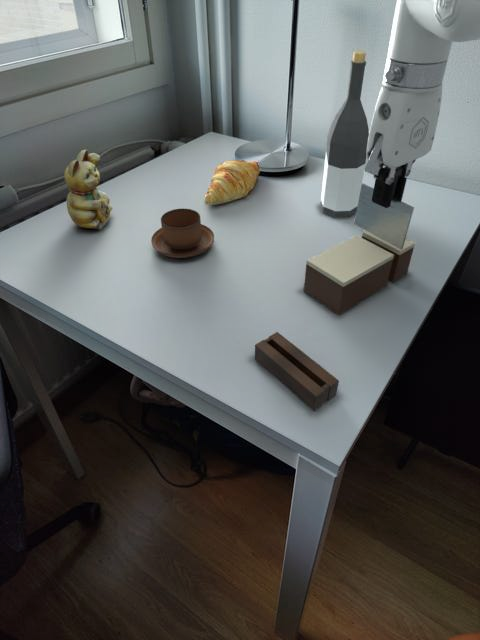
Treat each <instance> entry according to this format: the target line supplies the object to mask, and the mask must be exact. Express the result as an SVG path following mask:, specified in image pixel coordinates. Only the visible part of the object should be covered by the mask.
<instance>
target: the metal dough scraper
mask: <svg viewBox="0 0 480 640" xmlns="http://www.w3.org/2000/svg"><path fill="white" fill-rule="evenodd" d="M383 168H385V169H386V170H387V171H388V167H386V166H383ZM402 170H403V168H401V167H397V168H396V170H395V175H394V179H393V183H395V187H394V191H393V196H392V200H391V205H390V207H388V208H385V207H383V206H380V205H378V204H376V203H374V202H372V195H373V190H374V187H371V186H370V185H368V184H366V183H363V182H362V185H361V191H360V196H359V201H358V206H357V211H356V213H355V217H354V222H353V225H355V226H357V227H358V228H360V229H362V230H364V231H368V232H370V233H371V234H373V235H375V236H377V237H379V238H381V239H382V240H384V241H386V242H388V243H390V244H392V245H393V246H395V247H397V248H399V249H401V250H402V248H403V245H404V241H405V238H406V239H407V235H408V232H409V227H410V225H411V224H410V223H411V220H412V218H413V213H414V210H415V207H414V206H412V205H410V204H408V203H406V202H404V201H403V200H402V201H400V200H397V199H395V198H393V197H394V196H396V194H397V190H398V186H399V182H400V178H401V174H402Z"/></svg>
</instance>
